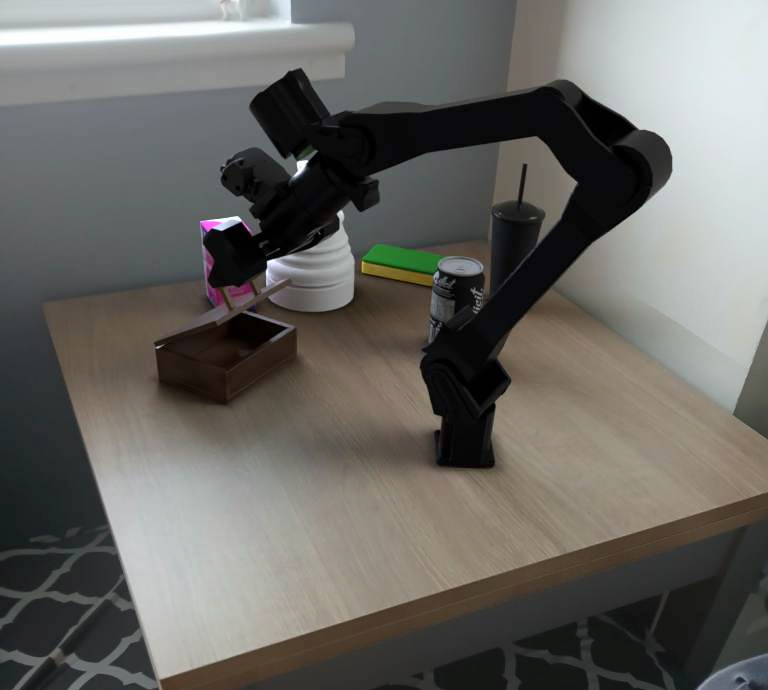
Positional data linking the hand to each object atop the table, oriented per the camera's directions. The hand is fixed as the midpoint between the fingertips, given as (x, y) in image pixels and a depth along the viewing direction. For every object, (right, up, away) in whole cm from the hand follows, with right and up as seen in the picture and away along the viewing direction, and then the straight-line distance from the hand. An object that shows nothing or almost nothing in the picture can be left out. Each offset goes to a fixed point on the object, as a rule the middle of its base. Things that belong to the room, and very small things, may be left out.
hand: (235, 271), depth 103 cm
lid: (-2, -4, +4) cm, 6 cm away
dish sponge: (+21, +9, +35) cm, 42 cm away
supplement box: (-5, +2, +24) cm, 24 cm away
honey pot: (+6, +4, +28) cm, 29 cm away
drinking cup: (+35, +3, +29) cm, 46 cm away
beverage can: (+26, -7, +16) cm, 31 cm away
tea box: (-2, -10, +9) cm, 13 cm away
